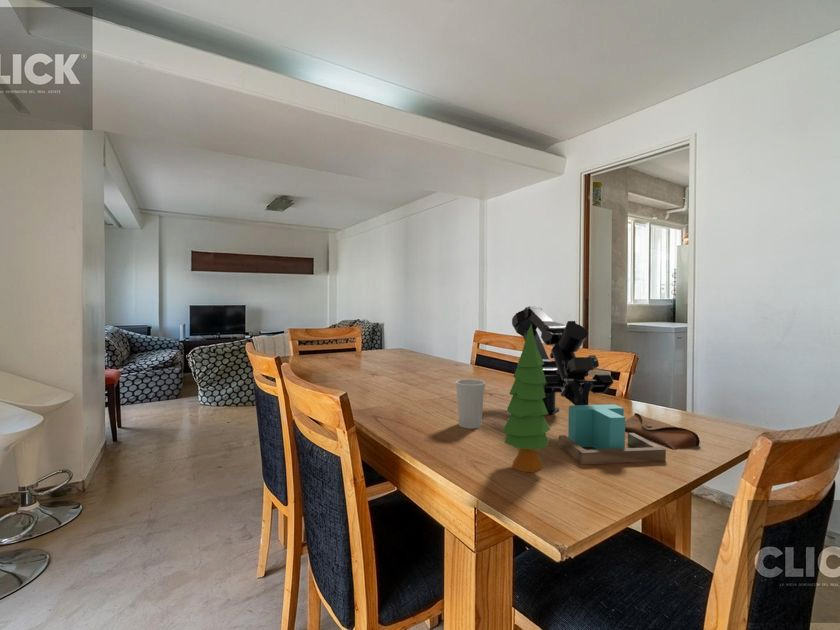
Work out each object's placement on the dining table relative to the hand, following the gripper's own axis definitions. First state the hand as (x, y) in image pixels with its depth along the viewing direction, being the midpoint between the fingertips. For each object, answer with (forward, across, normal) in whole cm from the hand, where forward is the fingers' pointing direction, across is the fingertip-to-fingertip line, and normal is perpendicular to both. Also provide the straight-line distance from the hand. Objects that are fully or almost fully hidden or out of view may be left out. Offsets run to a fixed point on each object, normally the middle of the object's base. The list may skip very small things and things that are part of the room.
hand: (586, 413), depth 100 cm
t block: (+10, 0, -1) cm, 10 cm away
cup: (-4, -27, +14) cm, 30 cm away
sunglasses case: (+6, +18, +4) cm, 19 cm away
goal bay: (+12, 0, -3) cm, 12 cm away
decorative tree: (+15, -22, -6) cm, 27 cm away
